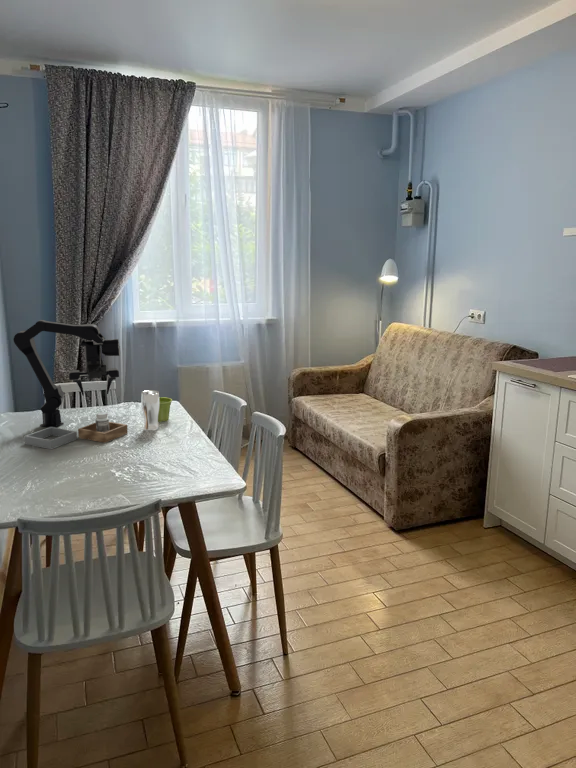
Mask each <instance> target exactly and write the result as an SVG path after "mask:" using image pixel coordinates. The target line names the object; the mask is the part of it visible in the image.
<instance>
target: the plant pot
mask: <svg viewBox="0 0 576 768" xmlns="http://www.w3.org/2000/svg"><path fill="white" fill-rule="evenodd" d="M159 400H160V407H159V415H158V423H162V422H168V421H169V420H170V419H169V418H170V413H171V412H170V410H171V406H172V405H171V404H172V402H173V399H172V398H170V397H163V396H162V397H160V396H159Z"/></svg>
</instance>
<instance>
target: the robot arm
mask: <svg viewBox="0 0 576 768" xmlns="http://www.w3.org/2000/svg"><path fill="white" fill-rule="evenodd" d="M100 330H101V329H100V327H99V326H98V325H97V324H95V323H94V324H93V323H85V324H84V323H83V324H70V323H63V322H56V321H48V320H45V319H39V320H38V321H36V322H35V323H34V324H33V325H32V326H30V327H29V328H27V329H25V330H21V331H19V332H17V333H15V334H14V336H13V338H12V339H13V343H14V345H15V346H16V347H17V349H18V350H19V351H20V352H21V353H22V355H24V356H25V357H26V359H27V361H28V363H29V364H30V366H31V368H32V371H33V373H34V374H35V376H36V377H37V380H38V382H39V384H40V386H41V388H42V390H43V396H44V400H45V402H44V404H42V406H41V407H40V410H41V414H42V423H40V424H39V426H40V427H44V428H49V427H55V428H57V427H60V426H62V425H64V424H65V423H64V422H62V415H61V410H60V409H59V408H60V407H61V406H62V404H63V403H64V400H65V392H64V390H63V389H62V386H61V385H60V384H59V385H56V384H55V383H54V382H53V380H52V378H51V376H50V374H49V372H48V370H47V368H46V366H45V365H44V362H43V361H42V358H41V357H40V355H39V352H38V351H37V347H36V346H37V345H36V342H35V337H37V335H39V334H41V333H42V332H49V333H53V334H54V333H55V334H61V335H63V334H64V335H70V336H75V337H79V338H81V339H82V340H81V342H80V343H79V346H80V347H84V354H85V369H86V370H85V371H80V369H75V370H74V369H73V370H69V371H68V378H69V381H73V383H76V384H77V386H78V387H79V390H80V393H81V395H82V396H85V393H84V386H83V382H82V378H83V377H88V379H89V380H90V379H91V380H92V379H101V378H102V377H104V376H107V377H106V388H105V389H106V395H109V392H110V387H111V385H112V383H113V381H114V380H116V378H120V372H119V369H118V368H117V367H109V368H107V366H106V364H102V357H101V356H103V355H104V357H120V356H121V346H120V340H119V338H114V339H106V338H105V336H104V335H103V334H102V333H101V331H100Z"/></svg>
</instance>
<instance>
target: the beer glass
mask: <svg viewBox="0 0 576 768" xmlns="http://www.w3.org/2000/svg"><path fill="white" fill-rule="evenodd" d="M159 393H160V391H158V390H144V391H141V398H140V399H141V400H140V401H141V404H140V405H141V410H142V415H143V421H144V423H143V424H144V425H143V431H145V432H156V431H159V430H160V425H159V422H158V415H159V407H160V400H159V397H160V394H159Z"/></svg>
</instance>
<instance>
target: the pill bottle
mask: <svg viewBox="0 0 576 768" xmlns="http://www.w3.org/2000/svg"><path fill="white" fill-rule="evenodd" d="M108 415H109V414H108V412H106V411H99V412H96V413H95V417H96V418H95V423H96V431H97V432H103V433H105V432H108V431H109V422H110V419H109V417H108Z"/></svg>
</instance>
